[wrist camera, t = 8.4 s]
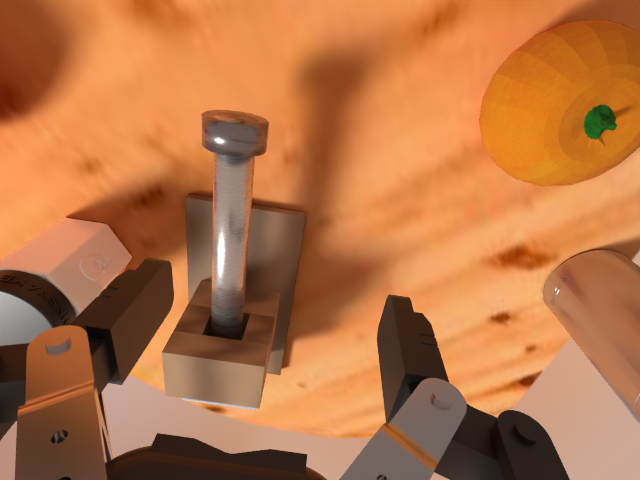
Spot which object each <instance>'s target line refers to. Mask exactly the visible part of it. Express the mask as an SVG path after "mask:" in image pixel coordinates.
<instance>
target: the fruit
mask: <svg viewBox="0 0 640 480" xmlns="http://www.w3.org/2000/svg"><path fill="white" fill-rule="evenodd" d="M479 123H480V129H481V136H482V142H483V145H484V147H485V148H486V150H487V152H488V153H489V155H490V157H491V159H492V160H493V162H494V163H495V164H496V165H497V166H498V167H500V168H501V169H502V170H504V171H505V172H506V173H508V174H509V175H510V176H512V177H513V178H515V179H518V180H521V181H524V182H528V183H531V184H535V185H539V186H565V185H572V184H575V183H579V182H582V181H585V180H589V179H592V178H595V177H597V176H599V175H601V174H603V173H604V172H606V171H608V170H610V169H612V168H613V167H615V166H617V165H619V164H620V163H621V162H623V161H624V160H625V159H626V158H627V157H628V156H629V155H631V154H632V153H633V152H634V151H635V150H636V149H637V148H639V146H640V32H638V31H636V30H634V29H632V28H629V27H626V26H623V25H620V24H618V23H615V22H612V21H608V20H590V21H573V22H569V23H565V24H563V25H560V26H557V27H555V28H552V29H550V30H547V31H544V32H542V33H539V34H538V35H536V36H535V37H533V38H532V39H530V40H529V41H528V42H526V43H525V44H524V45H522V46H521V47H519V48H518V49H517V50H515V51H514V52H513V53H511V55H510V56H509V57H508V58H507V59H506V61H505V62H504V63H503V64H502V65H501V67H500V68H499V69H498V70H497V71H496V73H495V74H494V76H493V78H492V80H491V82H490V84H489V86H488V88H487V90H486V92H485V94H484V96H483V100H482V106H481V112H480V118H479Z"/></svg>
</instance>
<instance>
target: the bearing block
mask: <svg viewBox="0 0 640 480" xmlns="http://www.w3.org/2000/svg"><path fill="white" fill-rule="evenodd" d="M306 214H307V213H304V212H298V211H292V210H286V209H280V208H274V207H268V206H262V205H256V204H251V217H250V231H249V244H248V258H247V271H246V285H245V299H244V312H243V326H242V339H241V341H240V340H233V339H226V338H220V337H213V336H211V309H212V232H213V197H208V196H202V195H196V194H190V193H189V194H188V195H187V197H186V224H187V259H188V293H189V304H188V306H187V308H186V309H185V311H184V313H183V315H182V317H181V318H180V320H179V322H178V324H177V326H176V328H175V329H174V331H173V333H172V335H171V337H170V339H169V340H168V342H167V344H166V346H165V348H164V350H163V351H162V358H163V369H164V381H165V392H166V396H172V397H179V398H187V399H194V400H201V401H208V402H216V403H223V404H230V405H238V406H245V407H252V408H259V407H260V402H261V397H262V392H263V388H264V383H265V378H266V373H270V374H277V375H280V374H281V368H282V362H283V355H284V349H285V343H286V337H287V331H288V325H289V318H290V312H291V306H292V300H293V294H294V288H295V282H296V275H297V269H298V263H299V257H300V251H301V245H302V239H303V232H304V226H305V220H306Z"/></svg>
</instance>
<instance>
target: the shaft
mask: <svg viewBox="0 0 640 480" xmlns="http://www.w3.org/2000/svg"><path fill="white" fill-rule="evenodd" d="M268 126H269V122H268V121H267V120H266V119H264V118H262V117H260V116H257V115H253V114H249V113H244V112H238V111H229V110H213V111H207V112H204V113H203V114H202V145H203V147H204V148H206V149H207V150H209V151H212V152H214V156H213V232H212V309H211V336H213V337H220V338H226V339H233V340H240V341H241V339H242V326H243V312H244V299H245V285H246V271H247V258H248V244H249V231H250V217H251V203H252V190H253V176H254V163H255V156H259V155H262V154H264V153H265V152H266V149H267V138H268Z"/></svg>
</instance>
